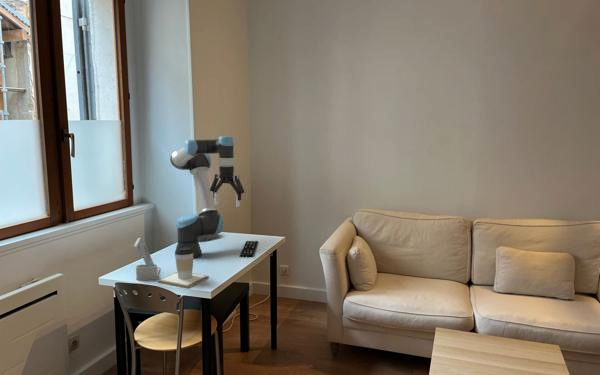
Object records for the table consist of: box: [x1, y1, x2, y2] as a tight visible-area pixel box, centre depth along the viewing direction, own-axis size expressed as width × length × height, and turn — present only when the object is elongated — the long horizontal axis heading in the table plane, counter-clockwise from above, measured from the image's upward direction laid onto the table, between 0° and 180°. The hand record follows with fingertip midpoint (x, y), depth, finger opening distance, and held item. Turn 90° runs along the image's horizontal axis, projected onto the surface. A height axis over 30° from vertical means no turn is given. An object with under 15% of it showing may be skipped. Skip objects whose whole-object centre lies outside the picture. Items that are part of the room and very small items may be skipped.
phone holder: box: [133, 237, 161, 281], centre depth 227 cm, size 17×10×18 cm, turn 11°
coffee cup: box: [174, 246, 194, 279], centre depth 220 cm, size 9×9×15 cm
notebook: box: [157, 271, 209, 289], centre depth 220 cm, size 18×16×1 cm
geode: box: [198, 234, 219, 243], centre depth 298 cm, size 20×12×10 cm, turn 156°
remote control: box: [239, 240, 259, 258], centre depth 274 cm, size 8×32×2 cm, turn 0°
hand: (227, 205), depth 240 cm, fingers open, 13 cm apart
